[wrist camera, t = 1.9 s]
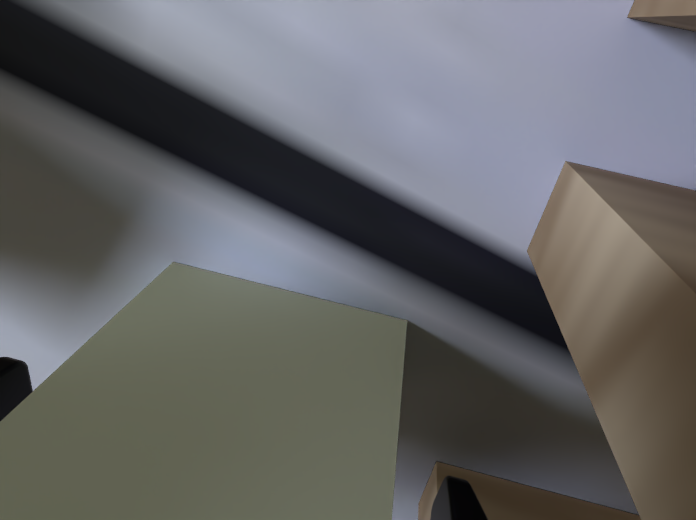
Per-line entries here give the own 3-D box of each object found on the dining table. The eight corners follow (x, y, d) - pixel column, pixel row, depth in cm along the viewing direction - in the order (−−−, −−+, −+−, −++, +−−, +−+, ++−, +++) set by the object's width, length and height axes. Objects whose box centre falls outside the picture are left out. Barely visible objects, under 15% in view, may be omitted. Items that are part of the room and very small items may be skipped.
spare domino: (388, 380, 12) (275, 1338, 3) (173, 325, 12) (-459, 1063, 4) (407, 320, 11) (318, 1448, 2) (173, 261, 11) (-689, 1056, 3)
